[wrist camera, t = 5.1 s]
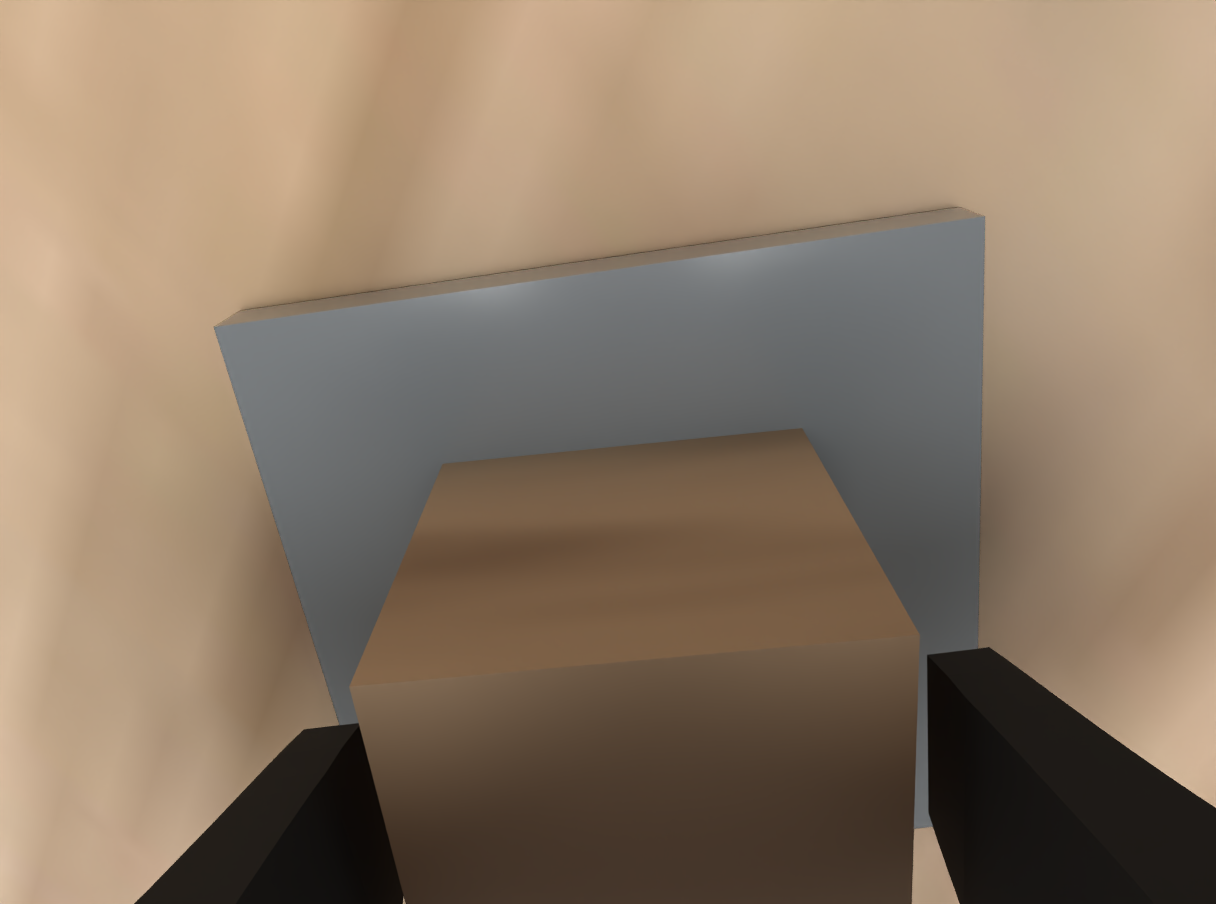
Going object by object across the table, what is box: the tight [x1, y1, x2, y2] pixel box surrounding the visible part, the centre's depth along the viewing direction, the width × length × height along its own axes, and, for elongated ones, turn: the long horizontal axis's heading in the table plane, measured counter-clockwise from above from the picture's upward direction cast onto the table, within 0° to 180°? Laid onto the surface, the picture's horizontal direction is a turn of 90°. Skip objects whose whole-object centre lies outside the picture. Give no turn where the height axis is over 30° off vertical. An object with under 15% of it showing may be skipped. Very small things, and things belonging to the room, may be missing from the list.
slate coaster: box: [214, 207, 985, 829], centre depth 12 cm, size 9×9×1 cm
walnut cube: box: [349, 428, 920, 904], centre depth 10 cm, size 4×4×4 cm
